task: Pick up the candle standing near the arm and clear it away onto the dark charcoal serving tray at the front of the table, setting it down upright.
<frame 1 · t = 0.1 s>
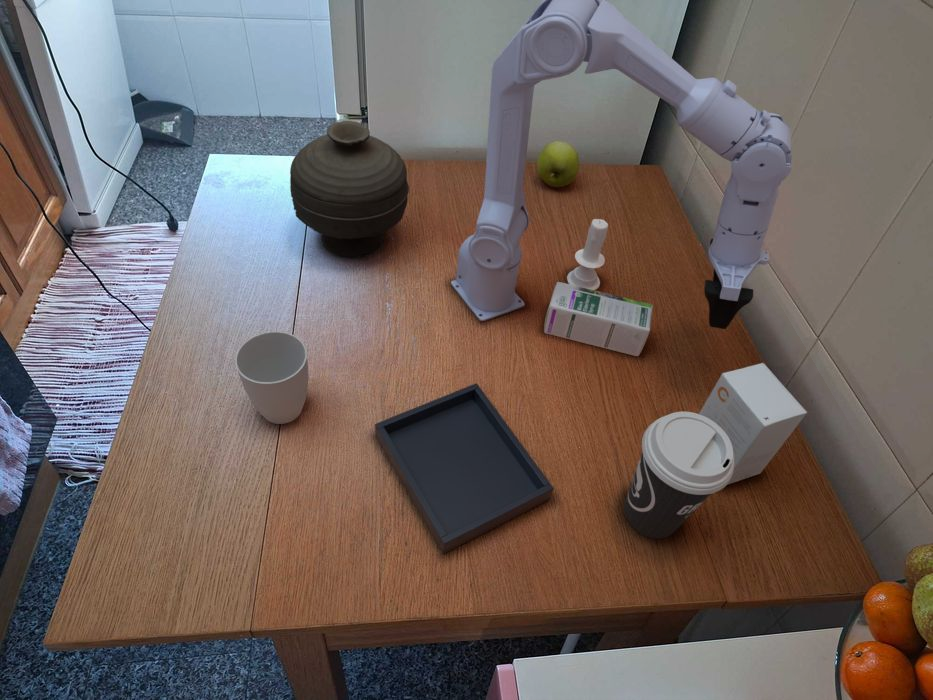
hand: (719, 307, 87), 11 cm above the table, tool pointing down, fingers open, 7 cm apart
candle: (582, 282, 104), on the table
apple: (553, 183, 123), on the table
small box: (721, 456, 84), on the table
tray: (460, 466, 79), on the table
syrup box: (647, 332, 94), point 3 cm above the table
cup: (282, 409, 83), on the table
coffee cup: (650, 514, 77), on the table
pot: (353, 239, 107), on the table
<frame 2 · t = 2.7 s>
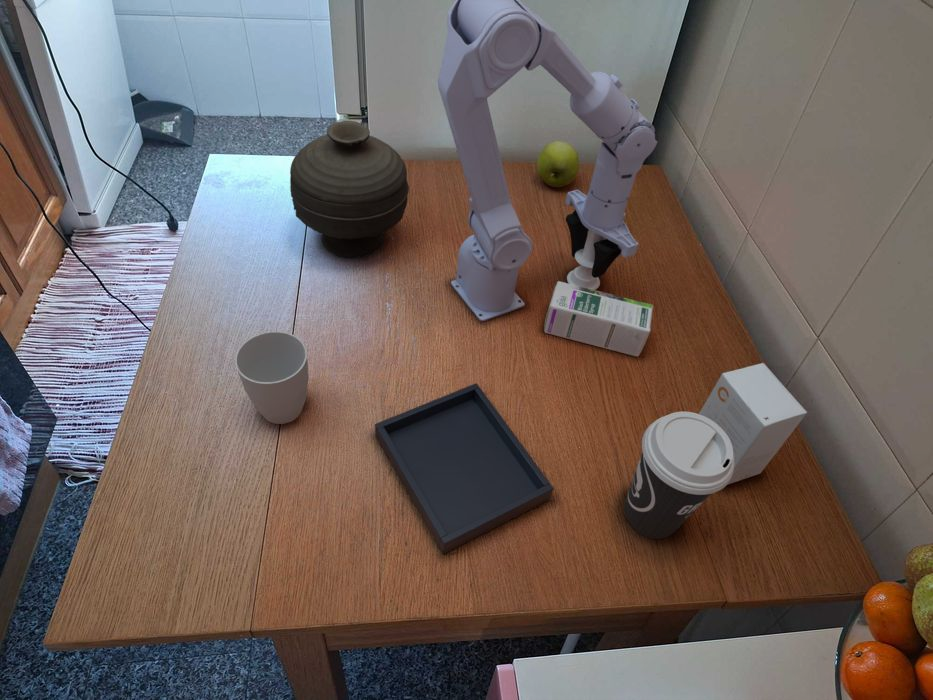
hand: (587, 265, 102), 3 cm above the table, tool pointing down, fingers closed on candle, 5 cm apart
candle: (582, 281, 104), on the table, touching gripper
everything else where it was.
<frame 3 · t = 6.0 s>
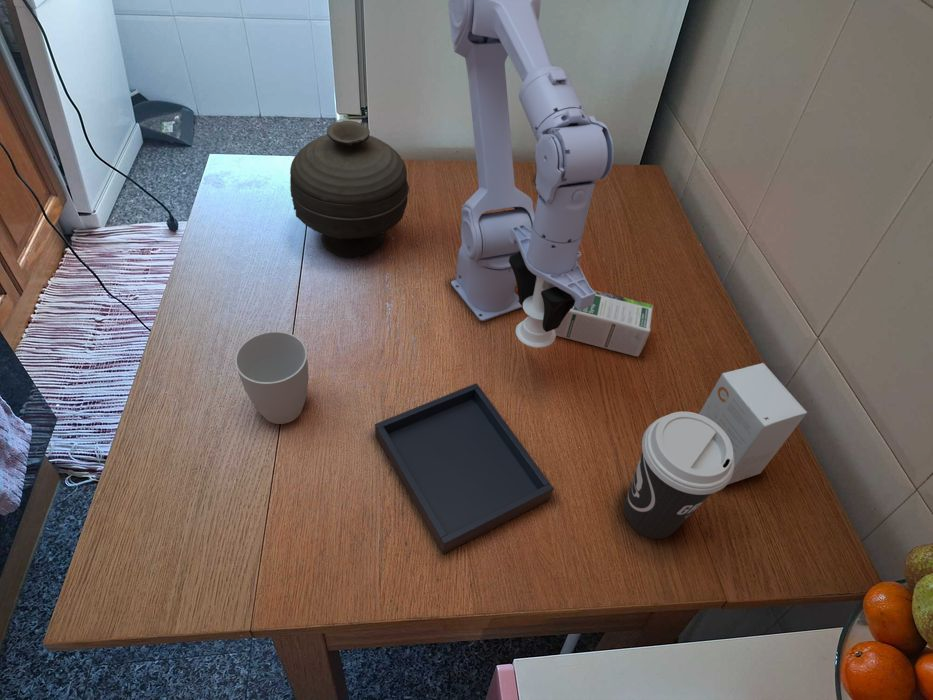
hand: (539, 315, 83), 10 cm above the table, tool pointing down, fingers closed on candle, 5 cm apart
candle: (535, 334, 85), point 7 cm above the table, touching gripper
everything else where it was.
when the fingers open (4 cm above the table, at t = 9.3 s): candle stays where it is, resting on tray.
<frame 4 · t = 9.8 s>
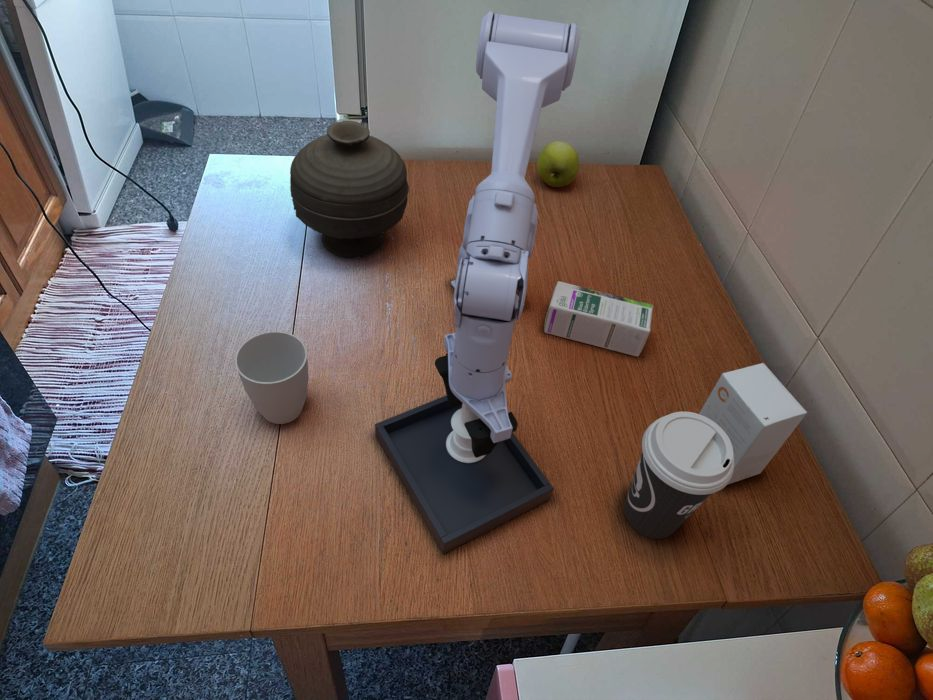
hand: (469, 427, 77), 4 cm above the table, tool pointing down, fingers open, 7 cm apart
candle: (467, 446, 80), resting on tray
everything else where it was.
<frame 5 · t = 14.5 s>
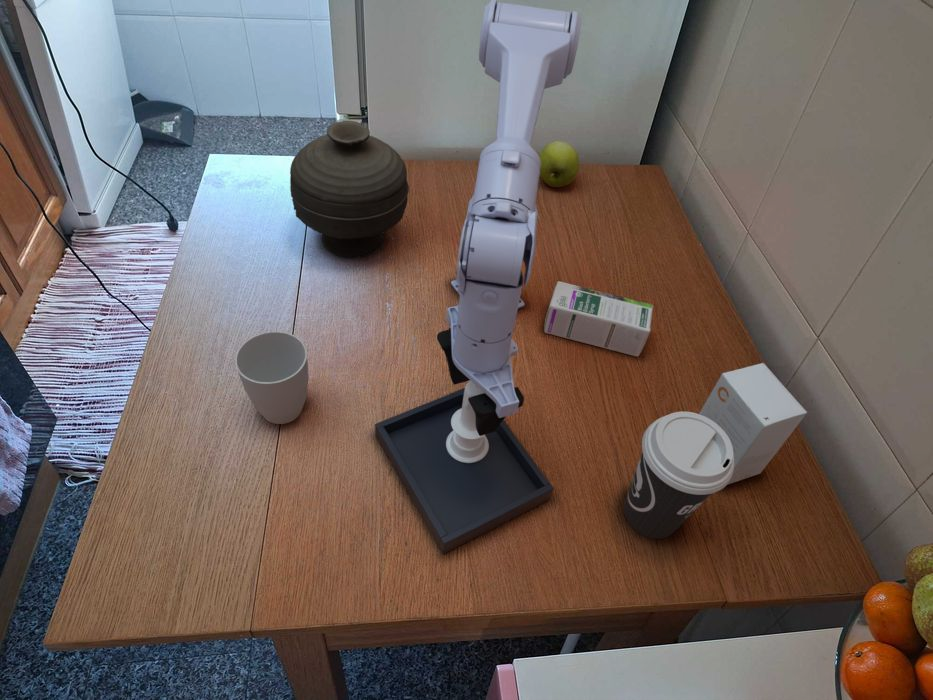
hand: (473, 405, 74), 9 cm above the table, tool pointing down, fingers open, 7 cm apart
nothing on the table moved.
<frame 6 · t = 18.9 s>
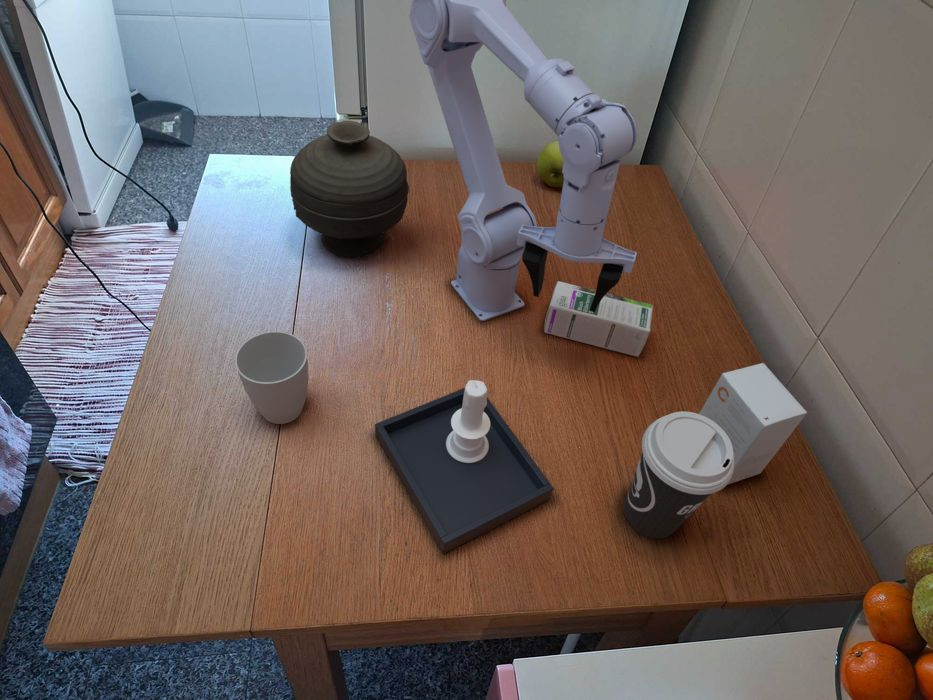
hand: (565, 299, 85), 10 cm above the table, tool pointing down, fingers open, 7 cm apart
nothing on the table moved.
at the end: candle inside the target area in the tray (2.9 cm from its centre), point 0.4 cm above the tray's base; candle tilted 0°; the gripper is holding nothing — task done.
